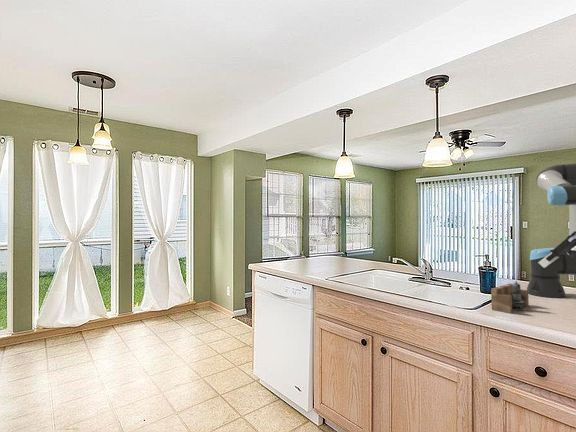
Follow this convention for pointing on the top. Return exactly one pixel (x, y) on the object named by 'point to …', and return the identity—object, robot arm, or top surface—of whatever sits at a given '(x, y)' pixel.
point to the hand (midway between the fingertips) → (541, 264)
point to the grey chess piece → (517, 297)
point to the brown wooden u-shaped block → (506, 298)
